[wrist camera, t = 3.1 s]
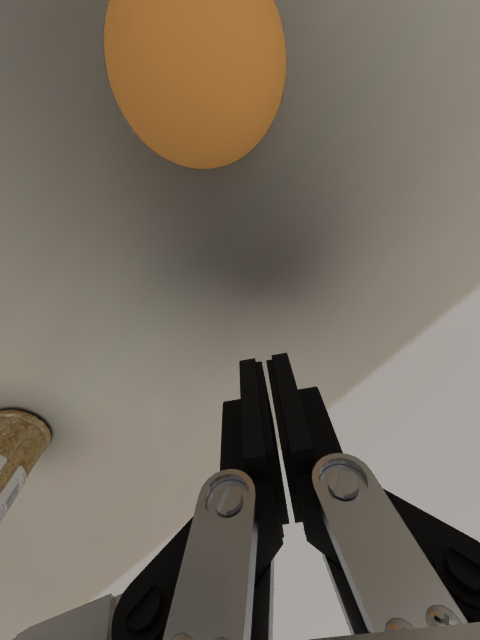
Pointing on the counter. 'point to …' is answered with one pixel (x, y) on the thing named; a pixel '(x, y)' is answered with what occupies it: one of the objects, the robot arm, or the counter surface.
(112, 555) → the counter surface
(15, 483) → the sprinkles bottle
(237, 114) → the ball
